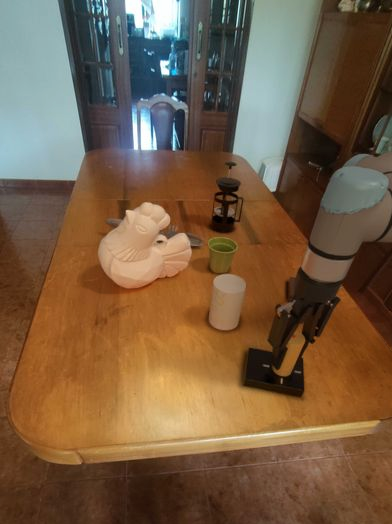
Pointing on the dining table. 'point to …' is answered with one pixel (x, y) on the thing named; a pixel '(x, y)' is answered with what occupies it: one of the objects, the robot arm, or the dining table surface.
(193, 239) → the spaceship
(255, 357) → the dimmer
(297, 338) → the dimmer knob
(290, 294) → the switch block
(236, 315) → the cup
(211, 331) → the dining table surface
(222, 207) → the french press
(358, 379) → the dining table surface
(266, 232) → the dining table surface
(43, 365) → the dining table surface
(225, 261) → the plant pot
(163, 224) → the decorative rooster
